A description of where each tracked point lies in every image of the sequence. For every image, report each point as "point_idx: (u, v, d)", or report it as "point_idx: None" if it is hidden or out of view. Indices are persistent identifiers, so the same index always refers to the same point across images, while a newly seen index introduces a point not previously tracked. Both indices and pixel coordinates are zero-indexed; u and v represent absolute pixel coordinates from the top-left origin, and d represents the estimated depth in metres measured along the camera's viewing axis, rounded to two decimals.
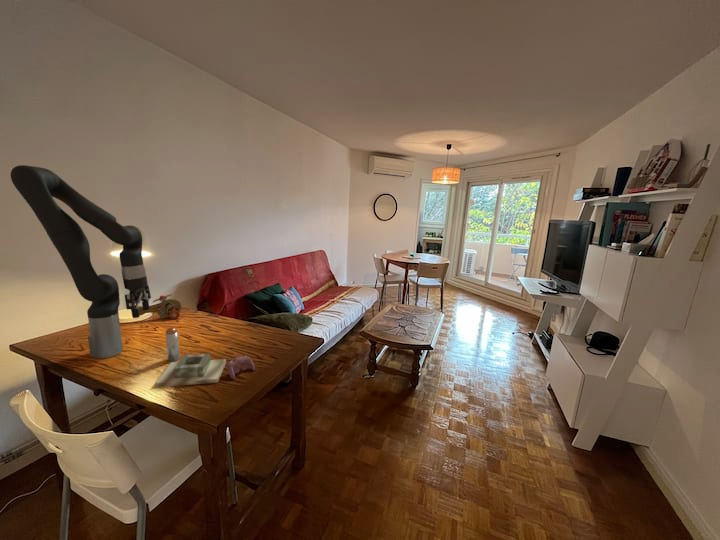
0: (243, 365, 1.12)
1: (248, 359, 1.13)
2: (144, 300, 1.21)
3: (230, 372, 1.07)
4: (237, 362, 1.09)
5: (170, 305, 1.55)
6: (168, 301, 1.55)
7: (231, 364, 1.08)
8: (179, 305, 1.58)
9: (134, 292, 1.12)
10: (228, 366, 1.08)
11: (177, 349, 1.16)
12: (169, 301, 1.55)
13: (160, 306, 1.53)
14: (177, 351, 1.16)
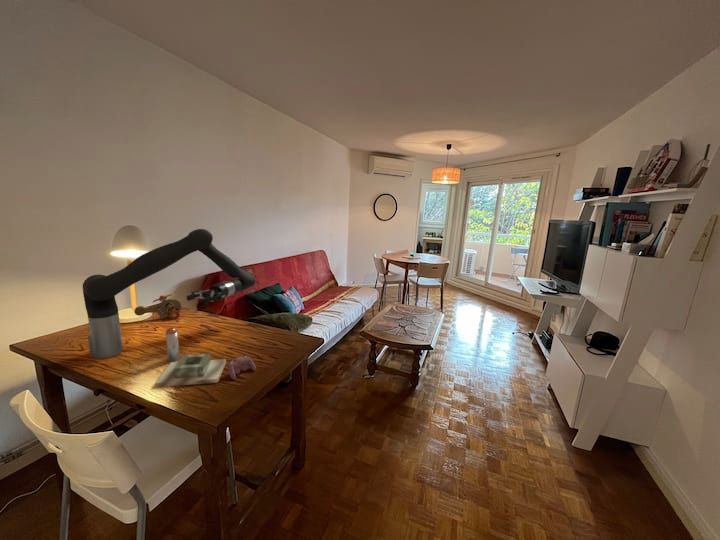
0: (244, 365, 1.12)
1: (249, 359, 1.13)
2: (196, 295, 1.29)
3: (231, 372, 1.06)
4: (238, 362, 1.09)
5: (170, 305, 1.55)
6: (168, 301, 1.55)
7: (232, 364, 1.08)
8: (179, 305, 1.58)
9: None
10: (229, 366, 1.07)
11: (177, 349, 1.16)
12: (169, 301, 1.55)
13: (160, 306, 1.53)
14: (177, 351, 1.16)
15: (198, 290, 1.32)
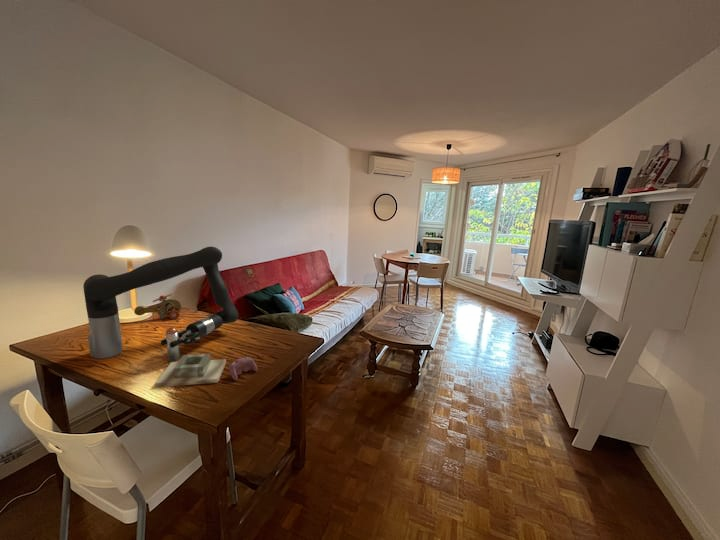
0: (245, 366, 1.12)
1: (250, 360, 1.12)
2: None
3: (232, 373, 1.06)
4: (239, 363, 1.09)
5: (170, 305, 1.55)
6: (168, 301, 1.55)
7: (233, 365, 1.07)
8: (179, 305, 1.58)
9: None
10: (230, 367, 1.07)
11: (177, 349, 1.16)
12: (169, 301, 1.55)
13: (160, 306, 1.53)
14: (177, 351, 1.16)
15: None
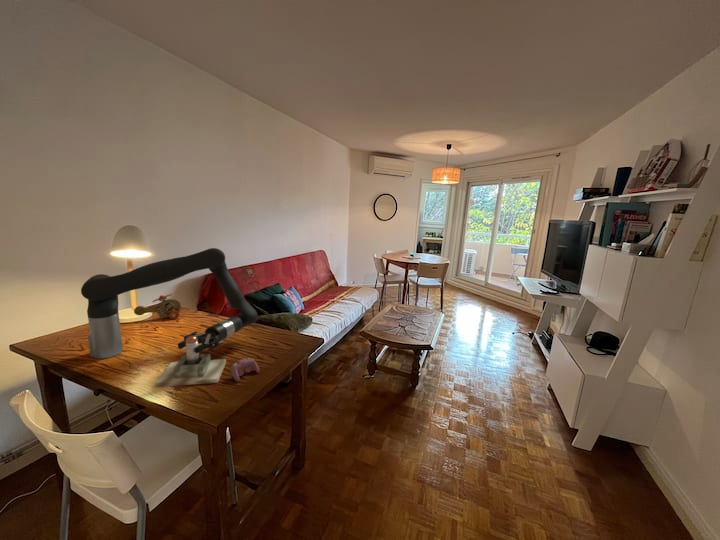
0: (247, 367, 1.11)
1: (252, 361, 1.12)
2: None
3: (234, 375, 1.05)
4: (241, 364, 1.08)
5: (170, 305, 1.55)
6: (168, 301, 1.55)
7: (235, 366, 1.06)
8: (179, 305, 1.58)
9: None
10: (232, 369, 1.06)
11: (197, 359, 1.07)
12: (169, 301, 1.55)
13: (160, 306, 1.53)
14: (197, 361, 1.07)
15: (191, 333, 1.13)
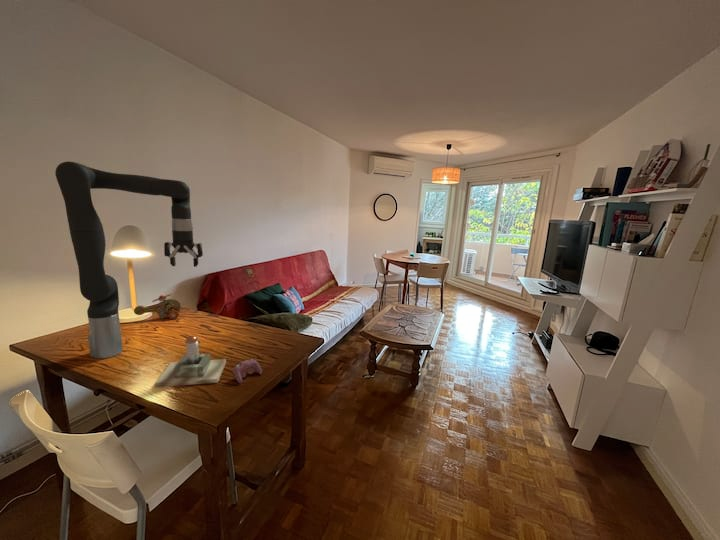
0: (250, 369, 1.10)
1: (255, 363, 1.11)
2: (173, 256, 1.23)
3: (237, 376, 1.04)
4: (244, 366, 1.07)
5: (169, 305, 1.55)
6: (167, 301, 1.55)
7: (238, 368, 1.06)
8: (178, 305, 1.58)
9: None
10: (235, 370, 1.05)
11: (197, 359, 1.07)
12: (168, 301, 1.55)
13: (160, 306, 1.54)
14: (197, 361, 1.07)
15: (165, 248, 1.21)
